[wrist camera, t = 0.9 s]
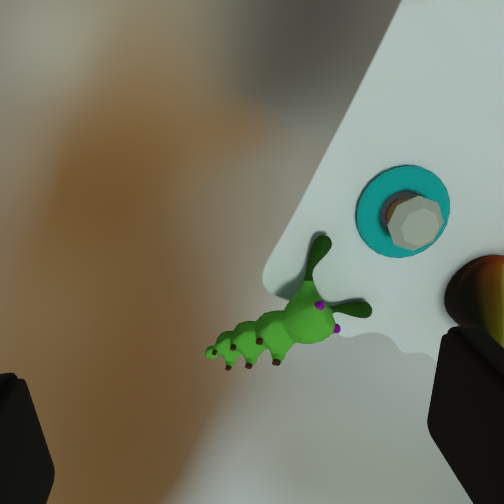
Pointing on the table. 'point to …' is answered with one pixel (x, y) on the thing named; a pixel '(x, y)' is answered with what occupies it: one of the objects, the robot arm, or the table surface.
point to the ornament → (403, 212)
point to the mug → (479, 295)
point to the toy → (287, 321)
